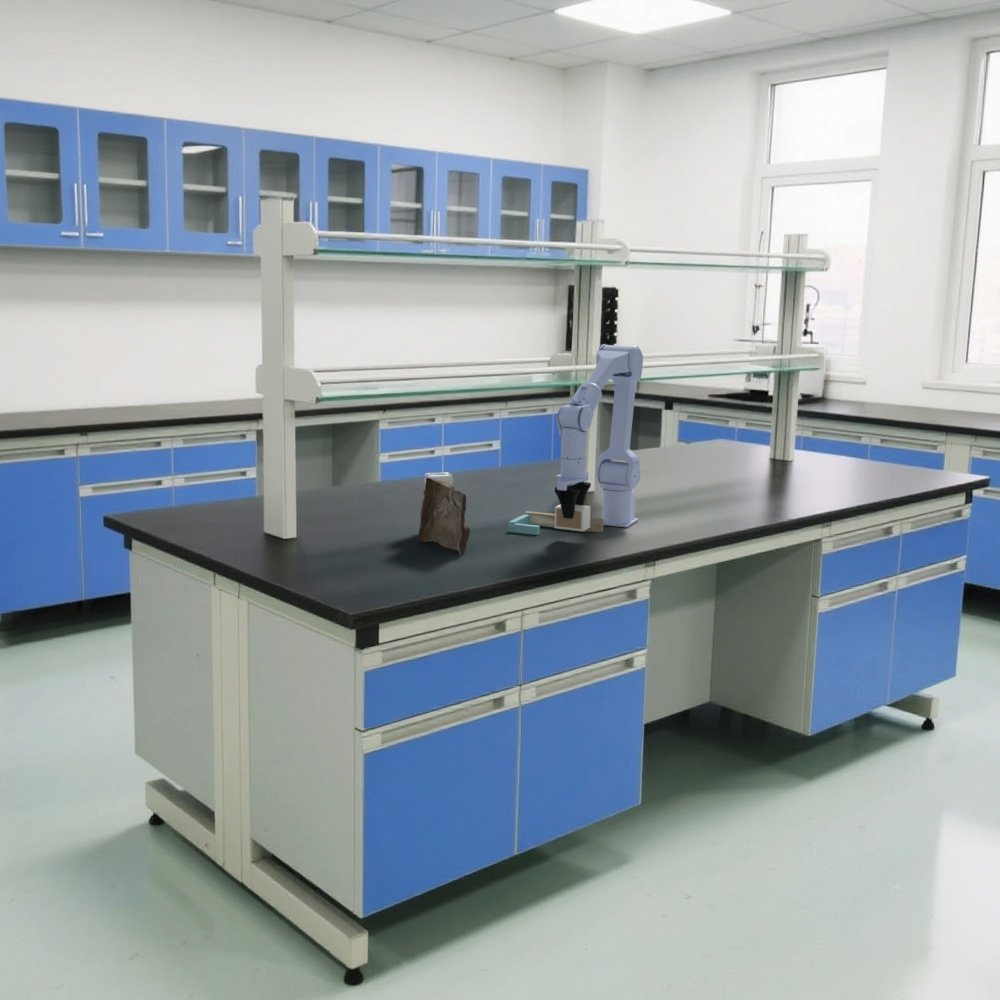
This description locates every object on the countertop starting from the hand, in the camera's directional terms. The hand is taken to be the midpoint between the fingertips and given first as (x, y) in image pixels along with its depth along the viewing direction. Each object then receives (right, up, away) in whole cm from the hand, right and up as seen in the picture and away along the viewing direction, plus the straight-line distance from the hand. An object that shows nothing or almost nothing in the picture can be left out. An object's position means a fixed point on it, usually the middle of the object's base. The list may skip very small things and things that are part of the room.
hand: (572, 515), depth 255 cm
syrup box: (-31, -5, +8) cm, 32 cm away
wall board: (-1, -3, +15) cm, 15 cm away
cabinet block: (0, -3, +1) cm, 3 cm away
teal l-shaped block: (-9, -4, +13) cm, 16 cm away
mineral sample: (-29, -7, -6) cm, 31 cm away
